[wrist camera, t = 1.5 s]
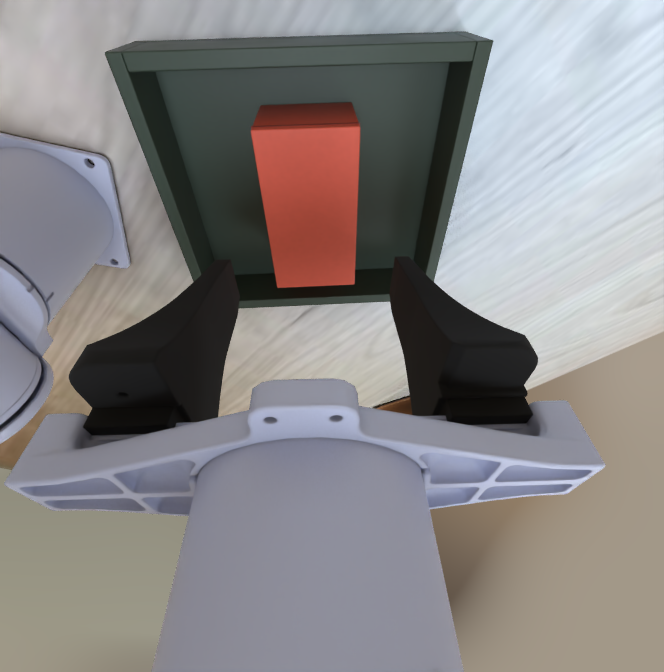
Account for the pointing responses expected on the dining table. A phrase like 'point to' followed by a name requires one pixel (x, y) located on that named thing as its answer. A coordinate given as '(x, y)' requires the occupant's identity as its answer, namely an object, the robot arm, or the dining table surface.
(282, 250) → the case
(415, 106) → the tote
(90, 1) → the dining table surface
